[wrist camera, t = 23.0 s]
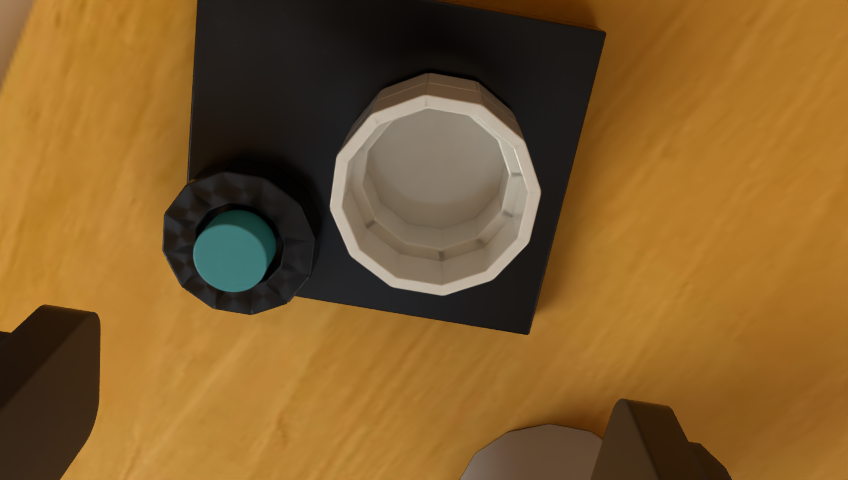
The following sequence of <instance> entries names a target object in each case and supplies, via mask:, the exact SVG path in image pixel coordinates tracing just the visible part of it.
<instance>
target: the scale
mask: <svg viewBox="0 0 848 480" xmlns="http://www.w3.org/2000/svg"><path fill="white" fill-rule="evenodd" d="M605 37H606V32H605V31H603V30H601V29H599V28H598V27H593V26H587V25H582V24H576V23H571V22H566V21H560V20H555V19H549V18H544V17H538V16H533V15H528V14H522V13H517V12H511V11H506V10H500V9H495V8H490V7H484V6H479V5H473V4H468V3H462V2H457V1H452V0H197V17H196V34H195V51H194V68H193V86H192V103H191V120H190V137H189V154H188V171H187V184H186V185H185V187H184V188H183V189H182V191H181V192H180V193H179V195H178V196H177V197H176V199H175V200H174V201H173V203H172V204H171V205H170V207H169V208H168V209H167V211H166V212H165V215H164V228H163V249H162V250H163V253H164V255H165V257H166V259H167V261H168V262H169V264H170V266H171V268H172V270H173V272H174V274H175V276H176V278H177V279H178V281H179V283H180V285H181V286H182V287H183V288H184V289H186V290H187V291H189V292H190V293H191V294H193V295H194V296H196V297H197V298H198V299H200V300H201V301H203V302H204V303H206V304H207V305H208V306H210V307H211V308H214V309H218V310H224V311H230V312H236V313H242V314H248V315H252V314H257V313H260V312H263V311H266V310H269V309H272V308H275V307H278V306H281V305H284V304H287V302H290V301H291V299H292V298H293V297H294V296H297V297H303V298H309V299H315V300H321V301H327V302H333V303H339V304H345V305H351V306H357V307H363V308H369V309H375V310H381V311H387V312H393V313H399V314H405V315H411V316H417V317H423V318H429V319H435V320H441V321H447V322H453V323H459V324H465V325H471V326H477V327H483V328H489V329H495V330H501V331H506V332H512V333H518V334H524V335H528V334H529V333H530V329H531V325H532V321H533V317H534V314H535V310H536V306H537V302H538V298H539V294H540V290H541V286H542V282H543V279H544V275H545V271H546V267H547V263H548V259H549V255H550V251H551V247H552V243H553V240H554V236H555V232H556V228H557V224H558V220H559V216H560V212H561V208H562V205H563V201H564V197H565V193H566V189H567V185H568V181H569V177H570V173H571V169H572V166H573V162H574V158H575V154H576V150H577V146H578V142H579V138H580V134H581V131H582V127H583V123H584V119H585V115H586V111H587V107H588V103H589V99H590V95H591V92H592V88H593V84H594V80H595V76H596V72H597V68H598V64H599V60H600V57H601V53H602V49H603V45H604V41H605ZM425 73H428V74H429V73H433V74H439V75H445V76H450V77H456V78H461V79H467V80H472V81H476V82H479V83H480V84H481V85H482V86H483V87H484V88H486V89H487V90H488V91H489V92H490V93H491V94H493V95H494V96H495V97H496V98H497V99H498V100H499V101H501V102H502V103H503V104H504V105H505V106H506V107H508V108H509V109H510V110H511V111H512V112H513V113H514V115H515V117H516V120H517V122H518V125H519V127H520V130H521V132H522V135H523V137H524V140H525V142H526V146H527V149H528V152H529V155H530V158H531V161H532V164H533V167H534V170H535V173H536V176H537V179H538V183H539V186H540V189H541V196H540V200H539V204H538V208H537V213H536V217H535V221H534V225H533V229H532V233H531V237H530V241H529V242H528V244H527V245H526V246H525V247H524V248H523V249H522V250H521V252H520V253H519V254H518V255H517V256H516V257H515V258H514V259H513V260H512V261H511V262H510V263H509V264H508V265H507V266H506V267H505V268H504V269H503V270H502V271H501V272H500V273H499V274H498V275H497V276H496V277H495V278H494V279H492V280H491V281H488V282H485V283H482V284H479V285H476V286H472V287H469V288H466V289H463V290H460V291H457V292H453V293H450V294H447V295H442V296H441V295H436V294H430V293H424V292H418V291H412V290H406V289H400V288H394V287H392V286H390V285H388V284H387V283H386V282H384V281H383V280H382V279H380V278H379V277H378V276H376V275H375V274H374V273H372V272H371V271H370V270H368V269H367V268H366V267H365V266H363V265H362V264H361V263H359V262H358V261H357V260H355V259H354V258H353V257H351V255H350V254H349V252H348V250H347V247H346V245H345V243H344V240H343V238H342V236H341V233H340V231H339V229H338V227H337V224H336V222H335V220H334V217H333V215H332V213H331V210H330V201H331V193H332V186H333V178H334V171H335V164H336V157H337V155H338V153H339V151H340V149H341V147H342V145H343V143H344V141H345V139H346V137H347V135H348V133H349V131H350V129H351V127H352V125H353V124H354V123H355V122H356V120H357V119H358V118H359V117H360V115H361V114H362V113H363V112H364V110H365V109H366V108H367V107H368V106H369V104H370V103H371V102H372V101H373V99H374V98H375V97H376V96H377V94H378V93H379V92H380V91H381V90H383V89H384V88H387V87H390V86H393V85H395V84H398V83H401V82H404V81H406V80H409V79H412V78H414V77H417V76H420V75H423V74H425ZM229 210H245V211H249V212H251V213H254V214H256V215H258V216H259V217H261V218H262V219H263V220H264V221H265V222H266V223H267V224H268V225H269V227H270V228H271V230H272V232H273V234H274V237H275V241H276V250H275V255H274V257H273V259H272V261H271V263H270V265H269V267H268V269H267V271H266V272H265V274H264V276H263V278H262V279H261V280H260V281H259V283H258V284H256V285H255V286H253V287H252V288H250V289H247V290H244V291H240V292H228V291H223V290H220V289H217V288H215V287H213V286H212V285H210V284H209V283H207V282H206V281H205V280H204V279H203V278H202V277H201V275H200V274H199V272H198V271H197V269H196V266H195V263H194V259H193V249H194V245H195V242H196V240H197V238H198V237H199V235H200V234H201V233H202V232H203V231H204V229H205V228H206V227H207V226H208V225H209V223H210V222H211V221H212V220H213V219H214V218H215V217H216V216H218V215H219V214H221V213H223V212H226V211H229Z"/></svg>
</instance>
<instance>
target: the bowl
mask: <svg viewBox="0 0 848 480" xmlns="http://www.w3.org/2000/svg"><path fill="white" fill-rule="evenodd" d="M540 196H541V189H540V186H539V183H538V179H537V176H536V173H535V170H534V167H533V164H532V161H531V158H530V155H529V152H528V149H527V146H526V142H525V140H524V137H523V135H522V132H521V130H520V127H519V125H518V122H517V120H516V117H515V115H514V113H513V112H512V111H511V110H510V109H509V108H508V107H506V106H505V105H504V104H503V103H502V102H501V101H499V100H498V99H497V98H496V97H495V96H494V95H493V94H491V93H490V92H489V91H488V90H487V89H486V88H484V87H483V86H482V85H481V84H480V83H479V82H476V81H472V80H467V79H461V78H456V77H450V76H445V75H439V74H433V73H429V74H428V73H425V74H423V75H420V76H417V77H414V78H412V79H409V80H406V81H404V82H401V83H398V84H395V85H393V86H390V87H387V88H384V89H383V90H381V91H380V92H379V93H378V94H377V96H376V97H375V98H374V99H373V101H372V102H371V103H370V104H369V106H368V107H367V108H366V109H365V110H364V112H363V113H362V114H361V115H360V117H359V118H358V119H357V120H356V122H355V123H354V124H353V125H352V127H351V129H350V131H349V133H348V135H347V137H346V139H345V141H344V143H343V145H342V147H341V149H340V151H339V153H338V155H337V157H336V164H335V171H334V178H333V186H332V193H331V201H330V210H331V213H332V215H333V217H334V220H335V222H336V224H337V227H338V229H339V231H340V233H341V236H342V238H343V240H344V243H345V245H346V247H347V250H348V252H349V254H350V255H351V257H353V258H354V259H355V260H357V261H358V262H359V263H361V264H362V265H363V266H365V267H366V268H367V269H368V270H370V271H371V272H372V273H374V274H375V275H376V276H378V277H379V278H380V279H382V280H383V281H384V282H386V283H387V284H388V285H390V286H392V287H394V288H400V289H406V290H412V291H418V292H424V293H430V294H436V295H441V296H442V295H447V294H450V293H453V292H457V291H460V290H463V289H466V288H469V287H472V286H476V285H479V284H482V283H485V282H488V281H491V280H492V279H494V278H495V277H496V276H497V275H498V274H499V273H500V272H501V271H502V270H503V269H504V268H505V267H506V266H507V265H508V264H509V263H510V262H511V261H512V260H513V259H514V258H515V257H516V256H517V255H518V254H519V253H520V252H521V250H522V249H523V248H524V247H525V246H526V245H527V244H528V242H529V241H530V237H531V233H532V229H533V225H534V221H535V217H536V213H537V208H538V204H539V200H540Z"/></svg>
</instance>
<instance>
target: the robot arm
mask: <svg viewBox="0 0 848 480" xmlns="http://www.w3.org/2000/svg"><path fill="white" fill-rule="evenodd" d="M99 383H100V320H99V317H98V315H97V314H96V313H95V312H89V311H83V310H77V309H71V308H64V307H58V306H52V305H42V306H40V307H39V308H37V309H36V310H35V311H34V312H33V313H32V314H31V315H30V316H29V317H28V318H27V319H26V320H25V321H24V322H22V323H21V324H20V325H19V326H18V327H17V328H16V329H15V330H14V331H13V332H12V333H9V332H2V331H0V480H60V479H61V477H62V476H63V475H64V473H65V472H66V470H67V469H68V467H69V466H70V464H71V463H72V462H73V460H74V459H75V457H76V456H77V454H78V453H79V451H80V450H81V449H82V447H83V446H84V444H85V443H86V441H87V439H88V438H89V436H90V433H91V431H92V429H93V426H94V423H95V420H96V416H97V411H98V406H99ZM590 480H732V479H731V477H730V475H729V474H728V472H727V470H726V468H725V467H724V466H723V465H722V464H721V463H720V462H719V461H718V460H717V459H716V458H715V457H714V456H712V455H711V454H710V453H709V452H708V451H707V450H706V449H705V448H704V447H703V446H702V445H701V444H699V443H693V442H688V440H687V438H686V436H685V434H684V432H683V430H682V428H681V426H680V424H679V422H678V420H677V418H676V416H675V414H674V412H673V410H672V409H671V408H670V407H669V406H665V405H659V404H653V403H647V402H640V401H634V400H628V399H620V400H618V401H617V403H616V404H615V406H614V408H613V411H612V413H611V416H610V420H609V423H608V426H607V429H606V432H605V435H604V438H603V441H602V444H601V447H600V451H599V454H598V457H597V460H596V463H595V466H594V469H593V472H592V475H591V479H590Z"/></svg>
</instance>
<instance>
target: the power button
mask: <svg viewBox="0 0 848 480" xmlns="http://www.w3.org/2000/svg"><path fill="white" fill-rule="evenodd" d="M275 250H276V241H275V237H274V234H273V232H272V230H271V228H270V227H269V225H268V224H267V223H266V222H265V221H264V220H263V219H262V218H261V217H259V216H258V215H256V214H254V213H251V212H249V211H245V210H229V211H226V212H223V213H221V214H219V215H218V216H216V217H215V218H214V219H213V220H212V221H211V222H210V223H209V225H208V226H207V227H206V228H205V229H204V231H203V232H202V233H201V234H200V235H199V237H198V238H197V240H196V242H195V245H194V249H193V259H194V263H195V266H196V269H197V271H198V272H199V274H200V275H201V277H202V278H203V279H204V280H205V281H206V282H207V283H209V284H210V285H212V286H213V287H215V288H217V289H220V290H223V291H228V292H240V291H244V290H247V289H250V288H252V287H253V286H255V285H256V284H258V283H259V281H260V280H261V279H262V278H263V276H264V274H265V272H266V271H267V269H268V267H269V265H270V263H271V261H272V259H273V257H274V255H275Z"/></svg>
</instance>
